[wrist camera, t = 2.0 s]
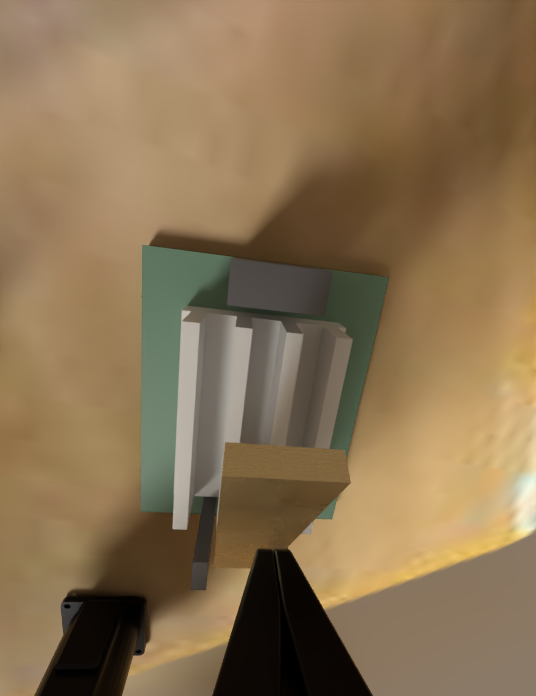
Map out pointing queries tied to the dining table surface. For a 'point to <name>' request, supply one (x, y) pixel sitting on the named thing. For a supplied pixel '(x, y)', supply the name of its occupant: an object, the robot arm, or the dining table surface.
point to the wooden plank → (272, 497)
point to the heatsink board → (244, 371)
